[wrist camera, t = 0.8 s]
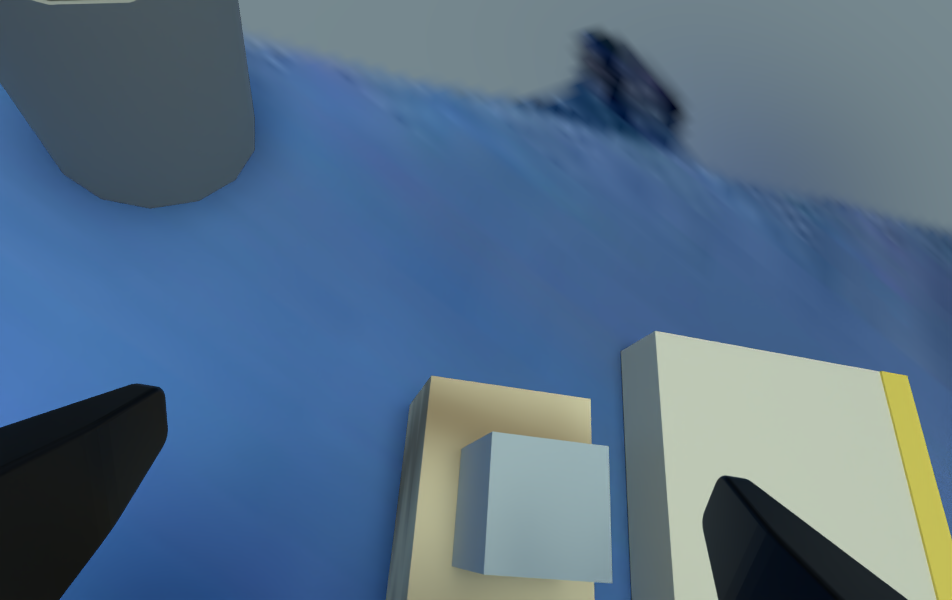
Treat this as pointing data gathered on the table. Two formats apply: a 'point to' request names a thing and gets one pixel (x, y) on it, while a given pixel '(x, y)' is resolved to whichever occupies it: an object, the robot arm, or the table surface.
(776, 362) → the dock
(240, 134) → the cup
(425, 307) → the table surface
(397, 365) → the table surface
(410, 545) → the wooden block
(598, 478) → the blue-grey cube
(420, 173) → the table surface
